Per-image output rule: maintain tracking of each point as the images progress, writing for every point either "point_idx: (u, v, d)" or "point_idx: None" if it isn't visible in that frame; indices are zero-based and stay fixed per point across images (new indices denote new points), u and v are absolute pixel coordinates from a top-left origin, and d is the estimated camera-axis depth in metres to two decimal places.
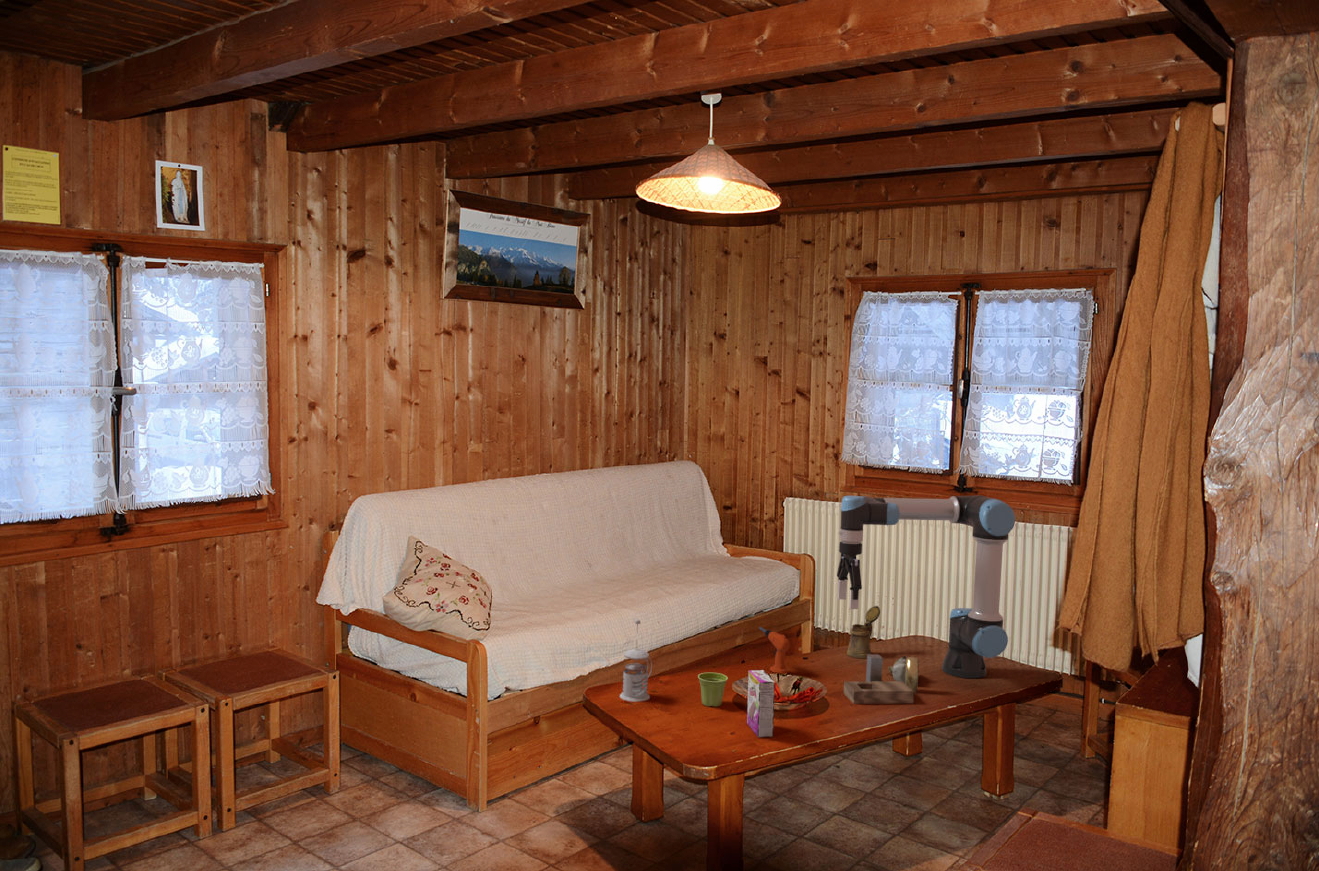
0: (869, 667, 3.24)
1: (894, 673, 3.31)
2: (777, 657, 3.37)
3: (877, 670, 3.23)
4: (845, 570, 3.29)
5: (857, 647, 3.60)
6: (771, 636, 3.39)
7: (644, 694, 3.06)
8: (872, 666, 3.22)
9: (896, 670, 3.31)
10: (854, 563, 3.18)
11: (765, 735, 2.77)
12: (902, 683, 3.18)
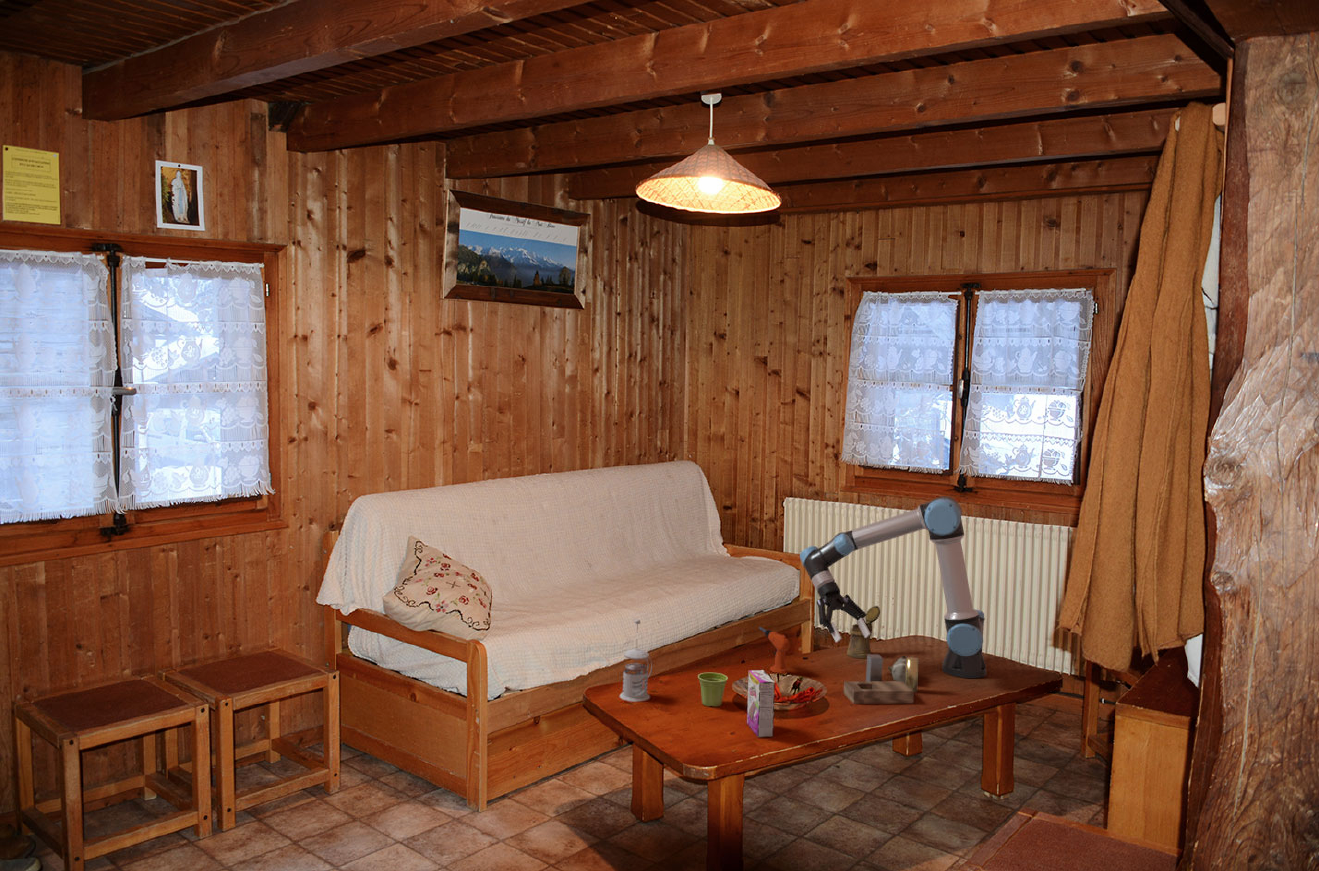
0: (869, 667, 3.24)
1: (893, 673, 3.32)
2: (777, 657, 3.37)
3: (877, 670, 3.23)
4: (847, 610, 3.41)
5: (857, 647, 3.60)
6: (771, 636, 3.39)
7: (644, 694, 3.06)
8: (872, 666, 3.22)
9: (895, 670, 3.31)
10: (818, 603, 3.38)
11: (765, 735, 2.77)
12: (902, 683, 3.18)
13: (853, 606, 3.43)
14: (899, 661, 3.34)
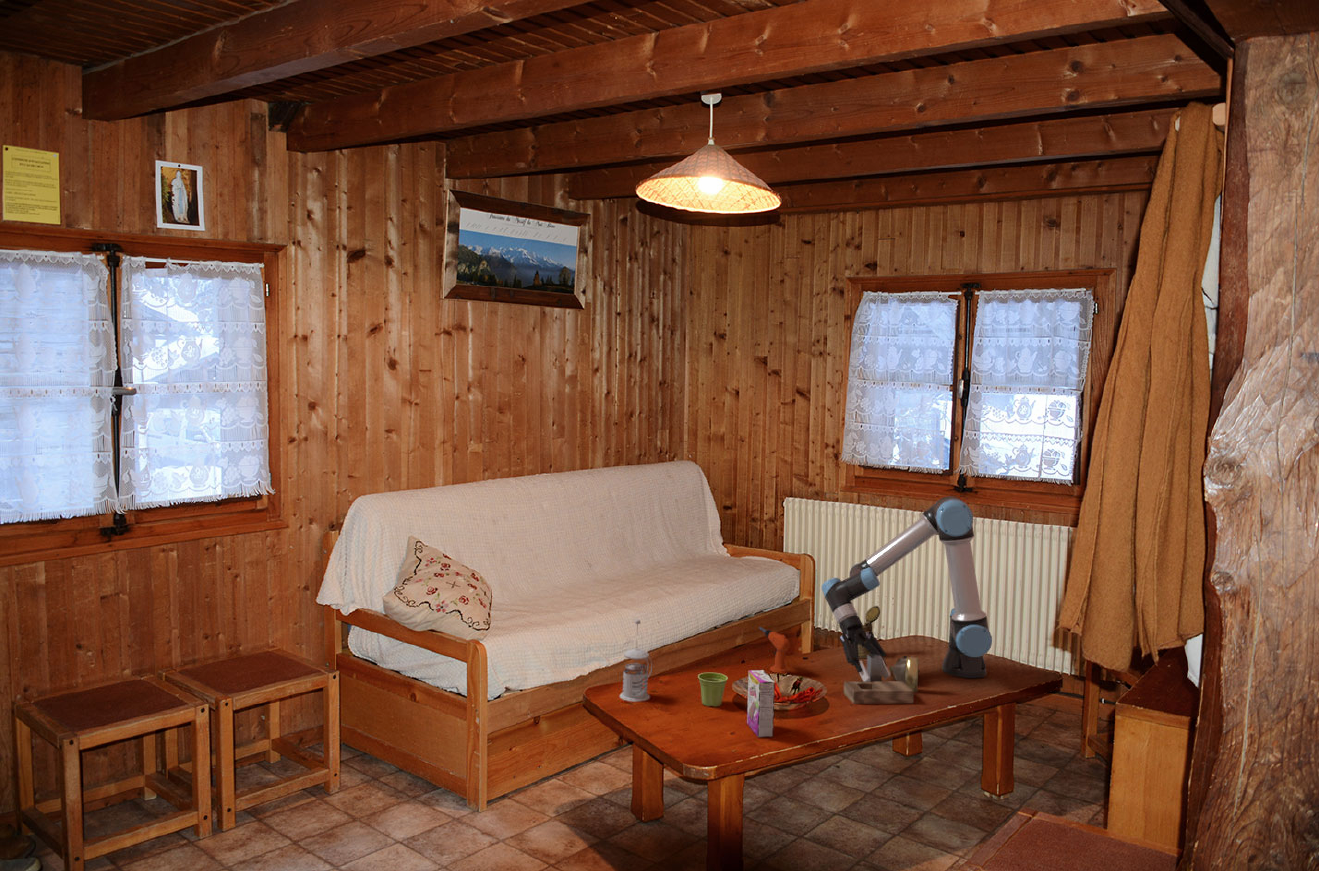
0: (869, 667, 3.24)
1: (895, 673, 3.32)
2: (777, 657, 3.37)
3: (877, 670, 3.23)
4: (868, 647, 3.30)
5: None
6: (771, 636, 3.39)
7: (644, 694, 3.06)
8: (872, 666, 3.22)
9: (897, 670, 3.31)
10: (841, 640, 3.28)
11: (765, 735, 2.77)
12: (902, 683, 3.18)
13: (874, 644, 3.32)
14: (901, 661, 3.34)
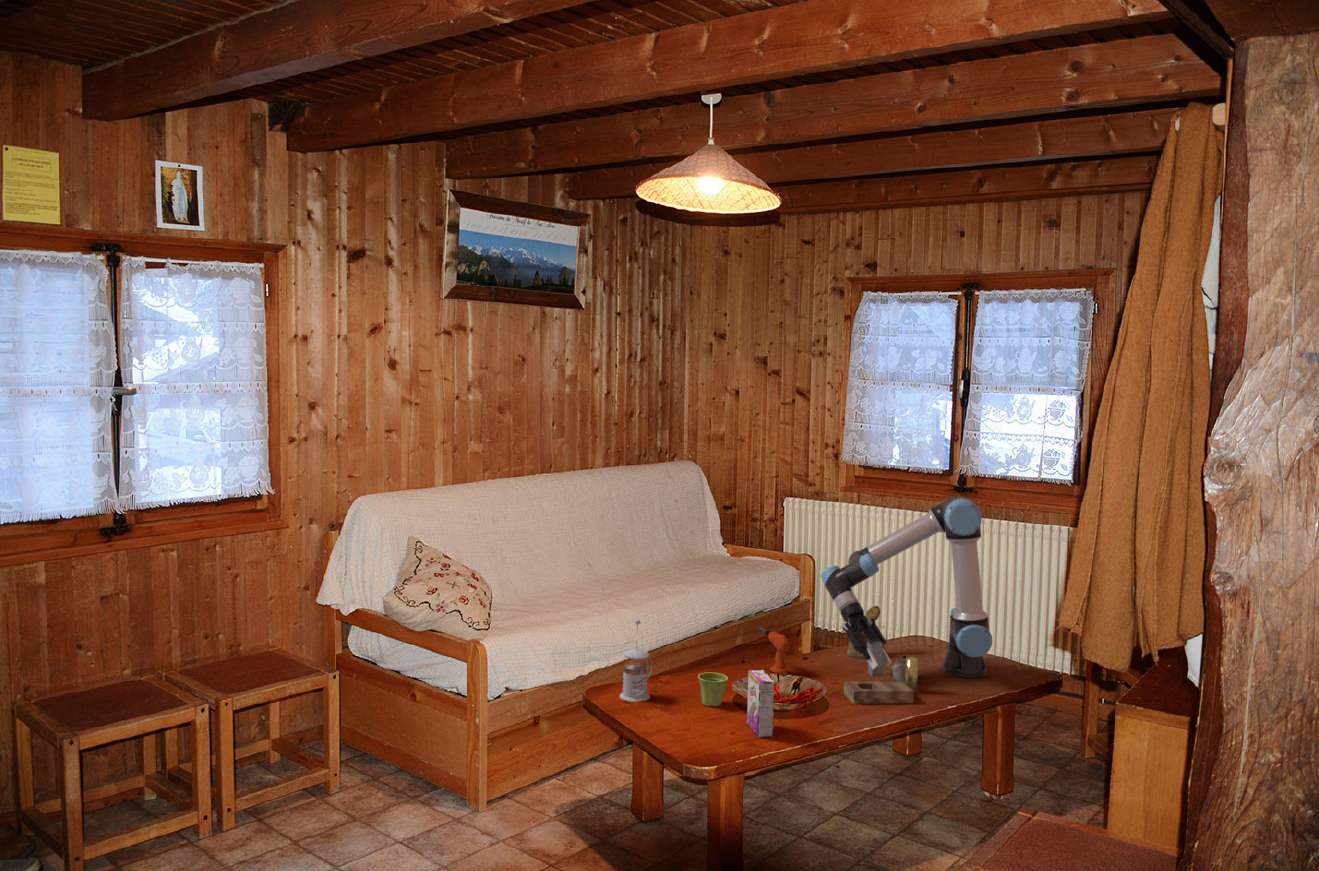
0: None
1: (894, 672, 3.32)
2: (777, 657, 3.37)
3: (878, 656, 3.22)
4: (869, 634, 3.29)
5: None
6: (771, 636, 3.39)
7: (644, 694, 3.06)
8: (873, 652, 3.22)
9: (896, 669, 3.31)
10: (844, 629, 3.27)
11: (765, 735, 2.77)
12: (902, 683, 3.18)
13: (875, 631, 3.31)
14: (900, 661, 3.34)
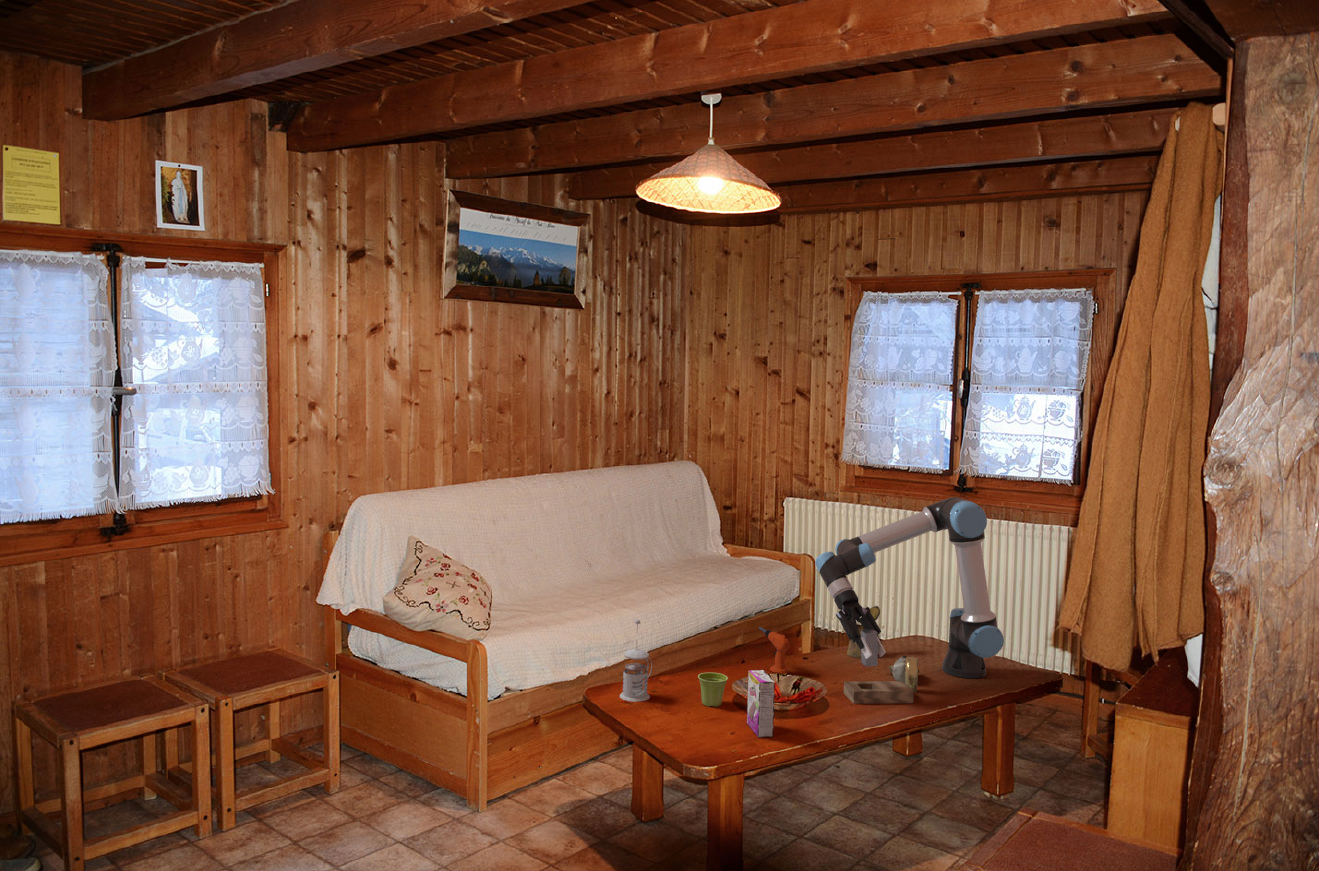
0: None
1: (894, 672, 3.32)
2: (777, 657, 3.37)
3: (872, 645, 3.11)
4: (863, 623, 3.18)
5: (857, 647, 3.60)
6: (771, 636, 3.39)
7: (644, 694, 3.06)
8: (867, 641, 3.11)
9: (896, 669, 3.31)
10: (838, 616, 3.16)
11: (765, 735, 2.77)
12: (902, 683, 3.18)
13: (870, 619, 3.19)
14: (900, 661, 3.35)
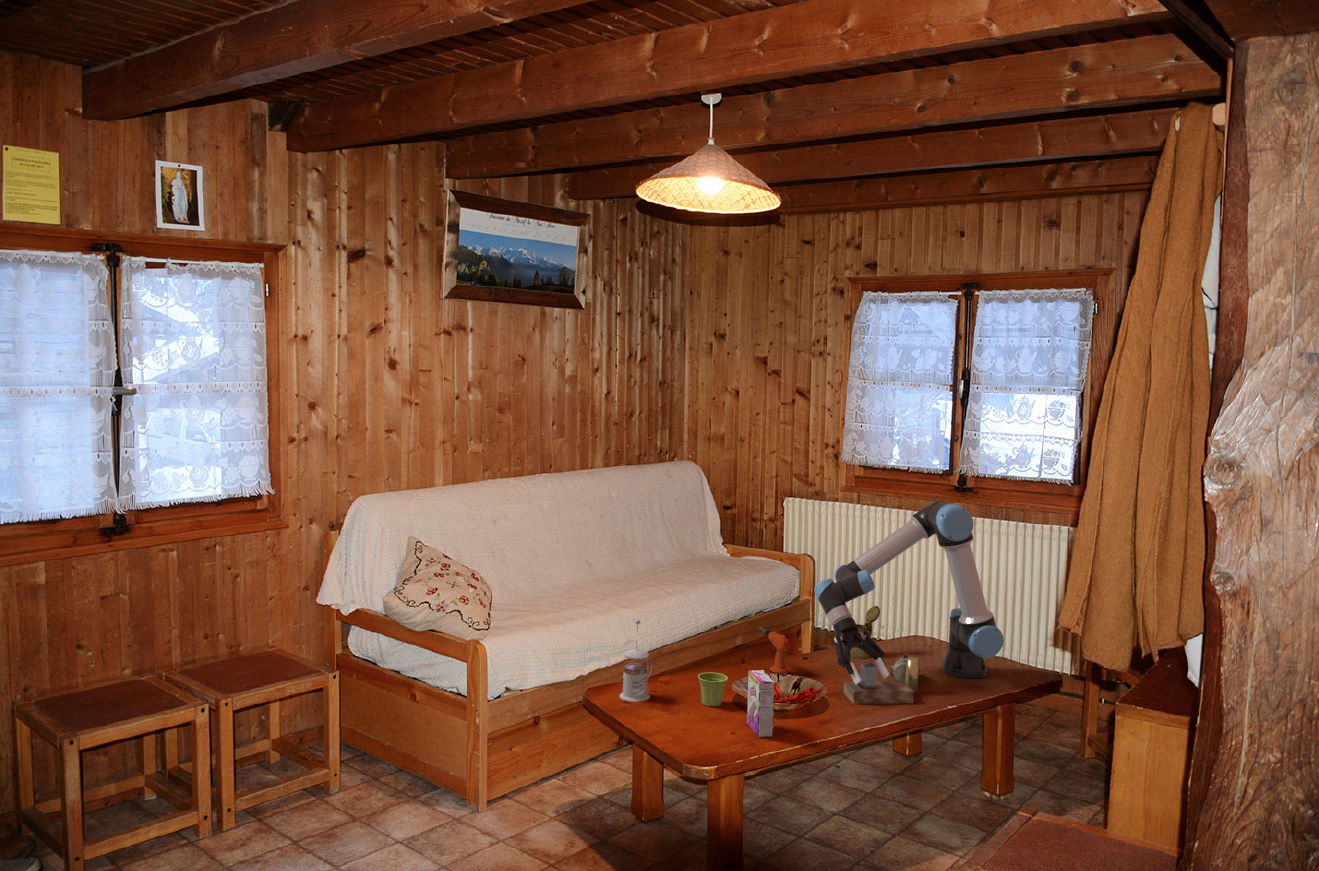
0: (863, 676, 3.12)
1: (895, 672, 3.32)
2: (777, 657, 3.37)
3: (872, 680, 3.12)
4: (865, 649, 3.20)
5: (857, 647, 3.60)
6: (771, 636, 3.39)
7: (644, 694, 3.06)
8: (866, 675, 3.11)
9: (897, 669, 3.32)
10: (834, 641, 3.17)
11: (765, 735, 2.77)
12: (902, 683, 3.18)
13: (871, 644, 3.21)
14: (901, 660, 3.35)
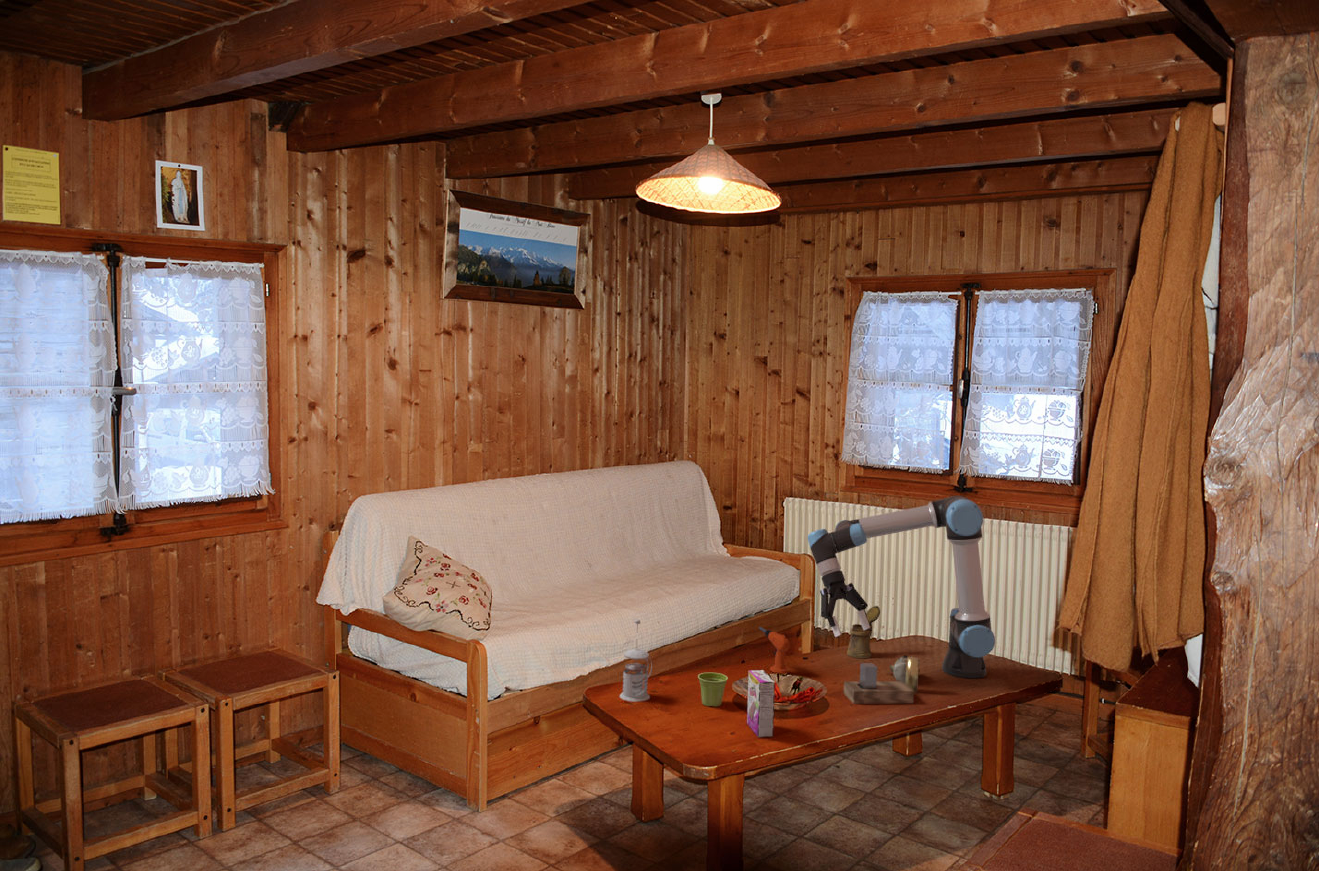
0: (863, 676, 3.12)
1: (895, 672, 3.33)
2: (777, 657, 3.37)
3: (872, 680, 3.12)
4: (850, 600, 3.33)
5: (857, 647, 3.60)
6: (771, 636, 3.39)
7: (644, 694, 3.06)
8: (866, 675, 3.11)
9: (897, 669, 3.32)
10: (821, 593, 3.28)
11: (765, 735, 2.77)
12: (902, 683, 3.18)
13: (856, 596, 3.34)
14: (900, 660, 3.35)
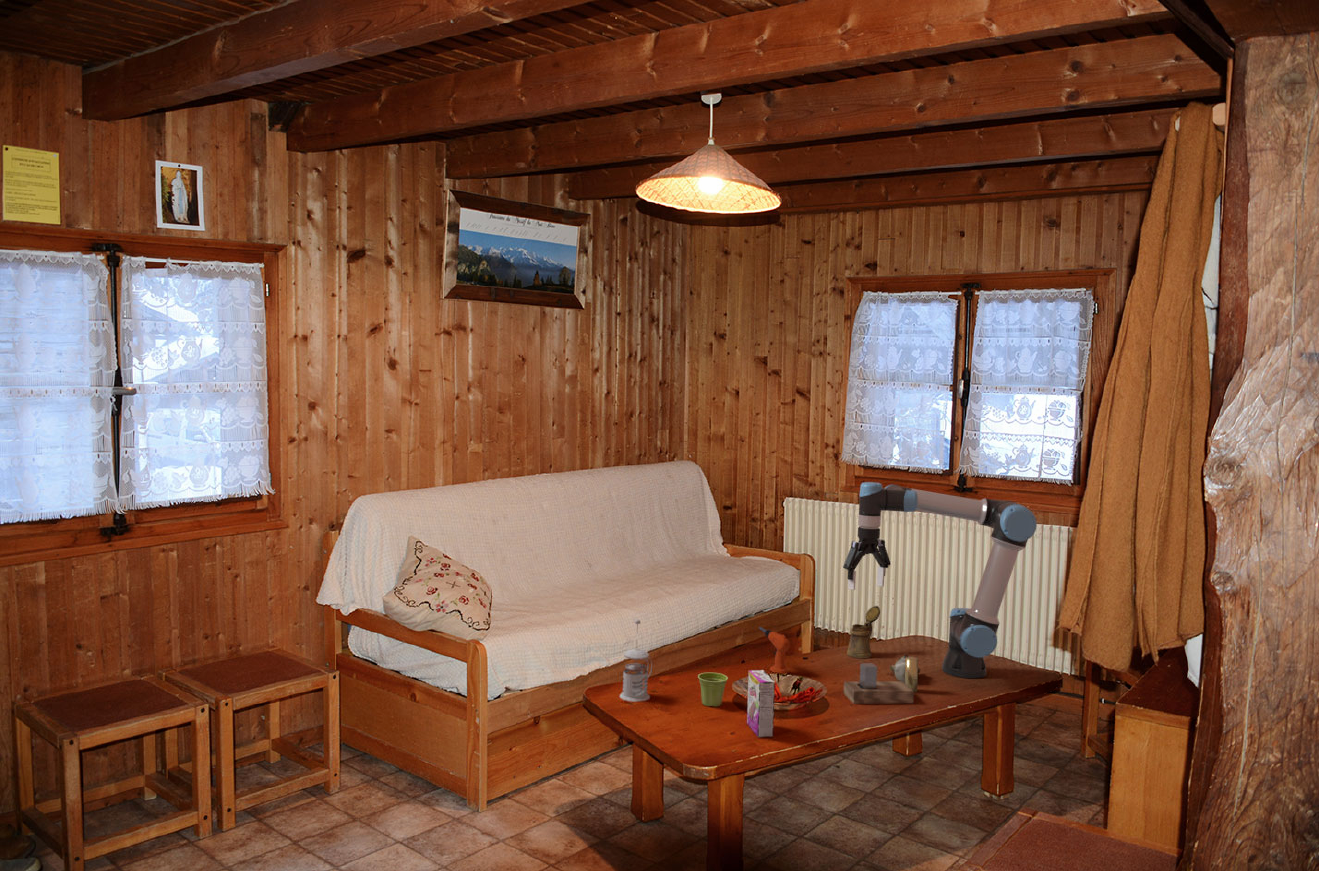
0: (863, 676, 3.12)
1: (896, 672, 3.33)
2: (777, 657, 3.37)
3: (872, 680, 3.12)
4: (875, 556, 3.36)
5: (857, 647, 3.60)
6: (771, 636, 3.39)
7: (644, 694, 3.06)
8: (866, 675, 3.11)
9: (898, 669, 3.32)
10: (852, 545, 3.31)
11: (765, 735, 2.77)
12: (902, 683, 3.18)
13: (883, 553, 3.37)
14: (902, 660, 3.35)
